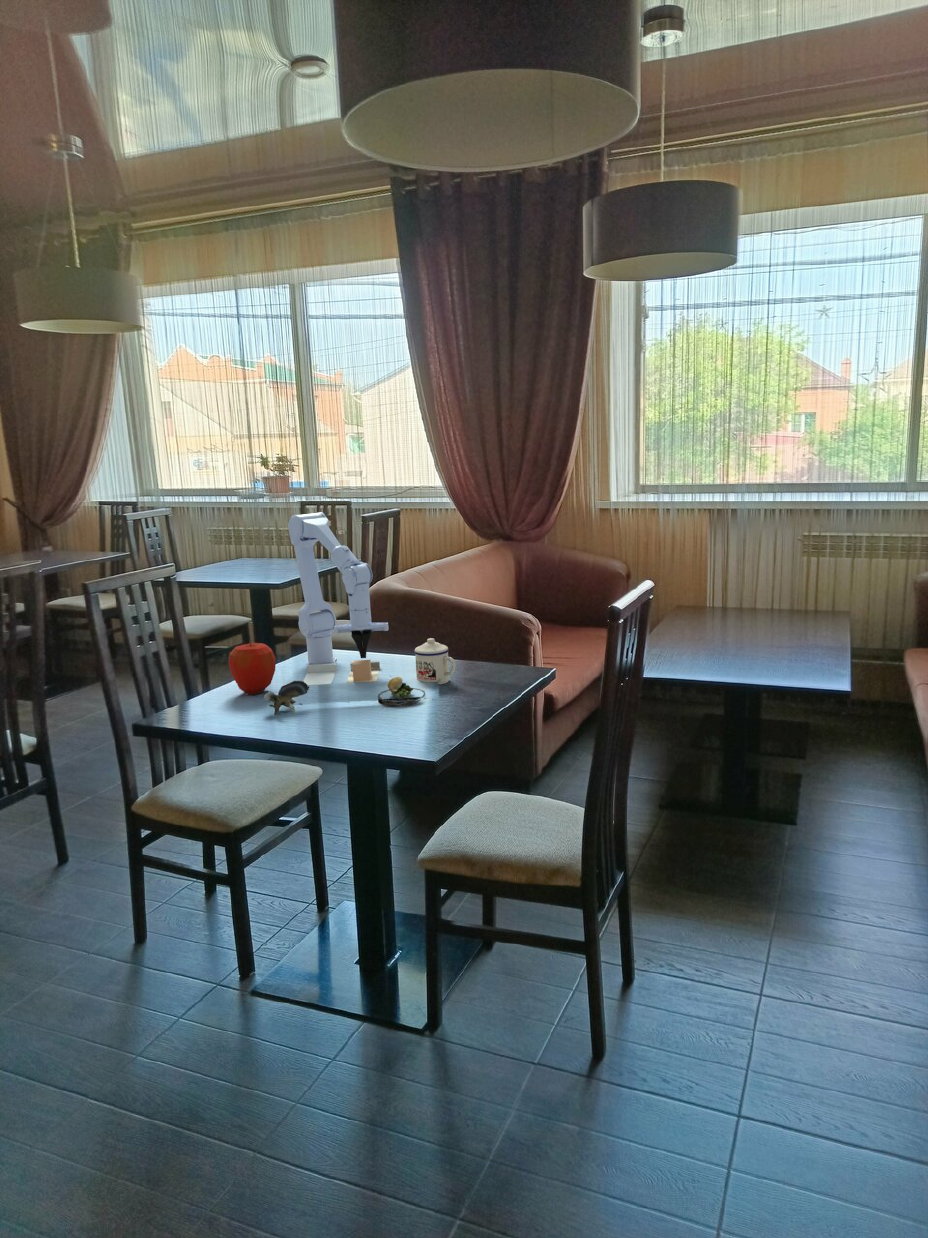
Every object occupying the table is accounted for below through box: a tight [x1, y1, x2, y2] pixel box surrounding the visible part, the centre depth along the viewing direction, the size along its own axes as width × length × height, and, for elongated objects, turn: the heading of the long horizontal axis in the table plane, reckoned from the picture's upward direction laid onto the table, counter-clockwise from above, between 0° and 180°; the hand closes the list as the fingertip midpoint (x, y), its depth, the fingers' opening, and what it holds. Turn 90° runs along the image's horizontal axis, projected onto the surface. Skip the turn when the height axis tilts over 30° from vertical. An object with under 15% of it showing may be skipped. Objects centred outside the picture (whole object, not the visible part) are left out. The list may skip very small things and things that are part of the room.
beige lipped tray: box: [346, 660, 381, 684], centre depth 236 cm, size 14×8×3 cm, turn 2°
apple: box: [227, 640, 277, 696], centre depth 227 cm, size 12×12×14 cm
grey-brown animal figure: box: [263, 680, 310, 716], centre depth 212 cm, size 8×8×10 cm
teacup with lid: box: [413, 637, 457, 686], centre depth 229 cm, size 12×9×12 cm
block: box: [352, 659, 372, 681], centre depth 232 cm, size 4×4×4 cm
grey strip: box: [303, 662, 338, 686], centre depth 236 cm, size 14×8×3 cm, turn 2°
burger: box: [377, 676, 426, 708], centre depth 215 cm, size 12×12×8 cm
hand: (363, 657), depth 238 cm, fingers closed
